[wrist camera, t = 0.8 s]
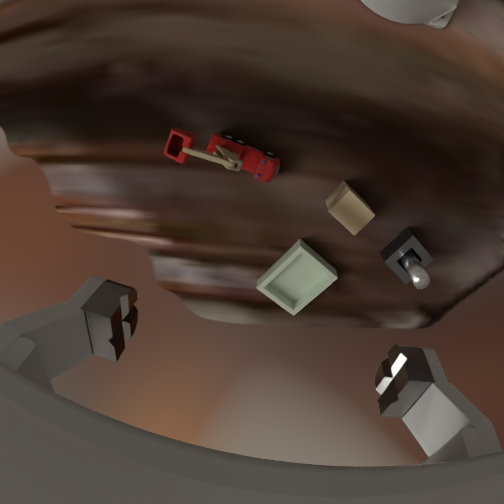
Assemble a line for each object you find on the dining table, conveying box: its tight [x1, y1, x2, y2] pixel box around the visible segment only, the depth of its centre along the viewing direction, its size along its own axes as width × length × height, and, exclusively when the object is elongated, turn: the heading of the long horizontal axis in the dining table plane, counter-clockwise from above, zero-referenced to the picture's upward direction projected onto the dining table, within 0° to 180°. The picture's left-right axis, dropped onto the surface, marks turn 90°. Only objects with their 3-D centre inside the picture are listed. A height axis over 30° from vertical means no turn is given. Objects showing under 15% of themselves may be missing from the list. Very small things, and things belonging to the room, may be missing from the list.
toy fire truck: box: [164, 128, 280, 182], centre depth 38 cm, size 3×14×10 cm, turn 68°
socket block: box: [380, 228, 433, 284], centre depth 45 cm, size 6×6×3 cm
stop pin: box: [400, 248, 430, 289], centre depth 42 cm, size 2×2×9 cm
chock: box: [325, 181, 375, 235], centre depth 42 cm, size 4×5×5 cm
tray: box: [257, 239, 338, 316], centre depth 49 cm, size 10×8×2 cm
